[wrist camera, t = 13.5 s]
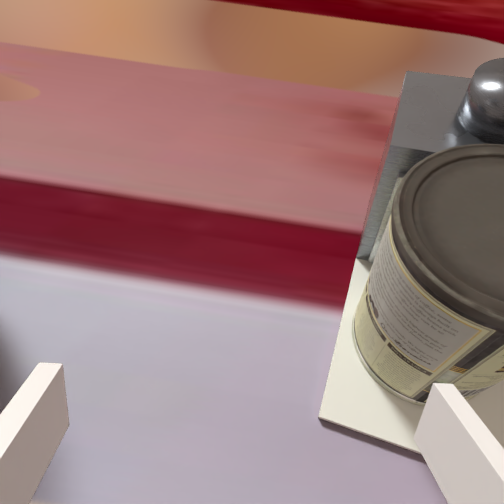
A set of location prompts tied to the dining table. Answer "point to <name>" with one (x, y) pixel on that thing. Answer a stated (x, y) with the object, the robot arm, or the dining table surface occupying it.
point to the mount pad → (377, 397)
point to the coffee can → (439, 279)
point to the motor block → (432, 133)
